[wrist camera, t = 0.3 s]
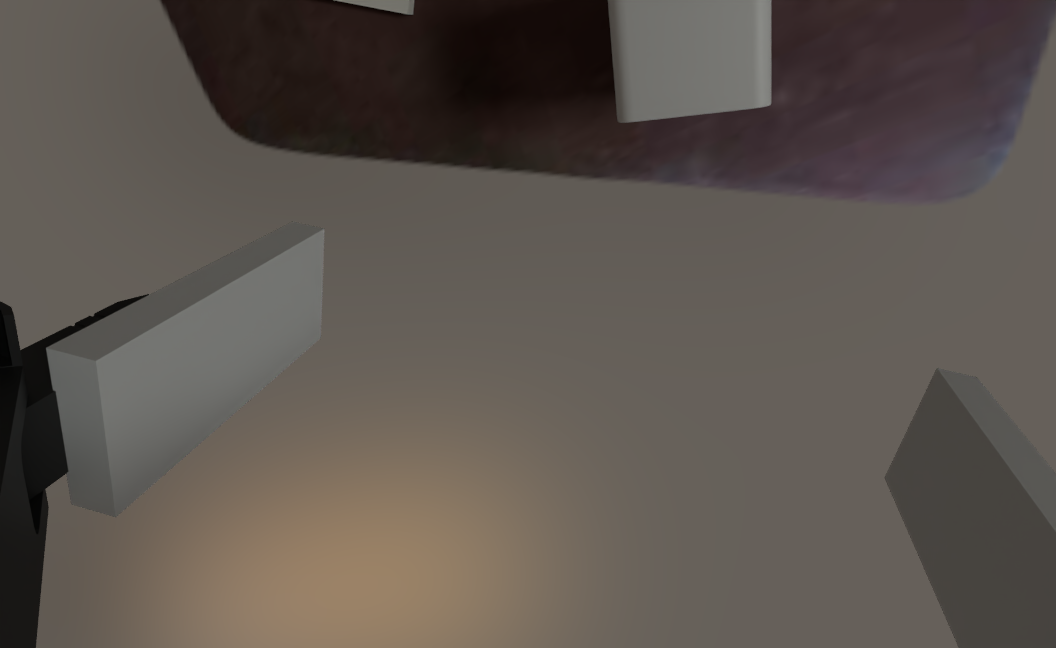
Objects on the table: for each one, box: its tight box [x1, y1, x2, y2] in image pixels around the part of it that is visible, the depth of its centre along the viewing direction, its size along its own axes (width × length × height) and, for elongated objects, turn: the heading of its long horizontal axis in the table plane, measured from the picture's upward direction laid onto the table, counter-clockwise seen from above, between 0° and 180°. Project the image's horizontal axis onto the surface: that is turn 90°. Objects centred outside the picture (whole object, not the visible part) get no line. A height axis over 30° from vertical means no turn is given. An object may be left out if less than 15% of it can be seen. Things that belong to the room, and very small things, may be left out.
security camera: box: [608, 0, 771, 123], centre depth 32 cm, size 6×7×10 cm
